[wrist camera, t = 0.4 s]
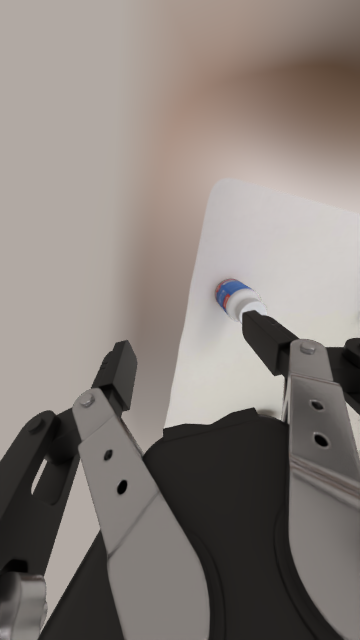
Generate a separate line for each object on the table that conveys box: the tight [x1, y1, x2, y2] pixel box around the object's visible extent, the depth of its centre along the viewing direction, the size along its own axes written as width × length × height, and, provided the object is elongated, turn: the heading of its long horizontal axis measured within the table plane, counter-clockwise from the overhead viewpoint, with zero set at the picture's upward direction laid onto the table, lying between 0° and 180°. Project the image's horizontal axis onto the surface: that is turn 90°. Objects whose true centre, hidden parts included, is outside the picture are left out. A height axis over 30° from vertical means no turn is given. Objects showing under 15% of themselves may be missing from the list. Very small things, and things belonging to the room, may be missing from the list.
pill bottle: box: [215, 279, 267, 324], centre depth 26 cm, size 6×5×10 cm
